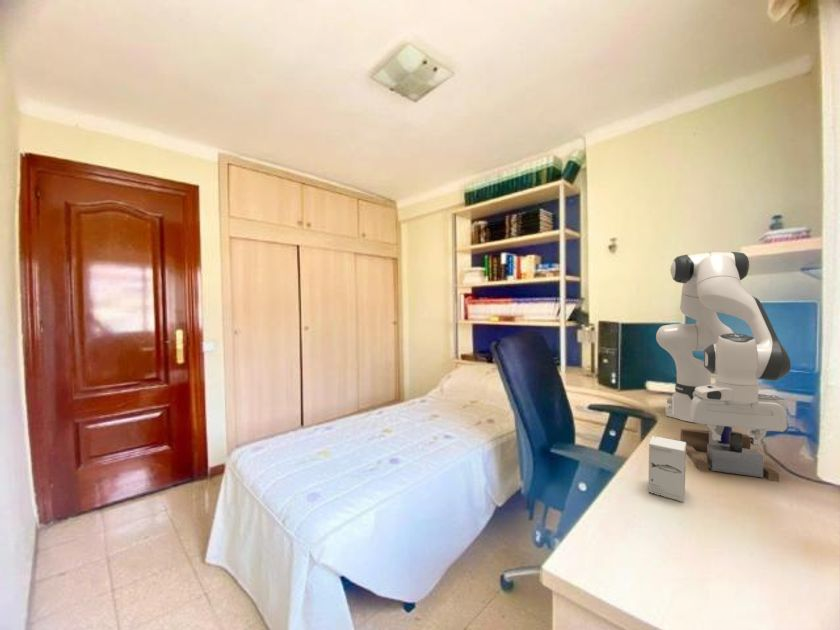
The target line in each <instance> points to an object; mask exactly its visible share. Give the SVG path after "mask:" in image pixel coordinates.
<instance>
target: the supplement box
mask: <svg viewBox="0 0 840 630" xmlns="http://www.w3.org/2000/svg"><path fill="white" fill-rule="evenodd" d="M686 459H687V454H686V442H682V441H681V440H676V439H671V438H665V437H660V436H656V435H652V436H651V437H650V441H649V443H648V487H647V488H648V491H647V492H648V493H649V492H651V493H650V494H653V493H654V495H658V496H660V495H661V497H663V498H664V497H665V498H669V499H672V500H674V501H679V502H681V503H685V496H686V495H685V492H686V473H687V472H686V471H687V470H686V467H687V466H686V465H687V463H686V461H687V460H686Z"/></svg>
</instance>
